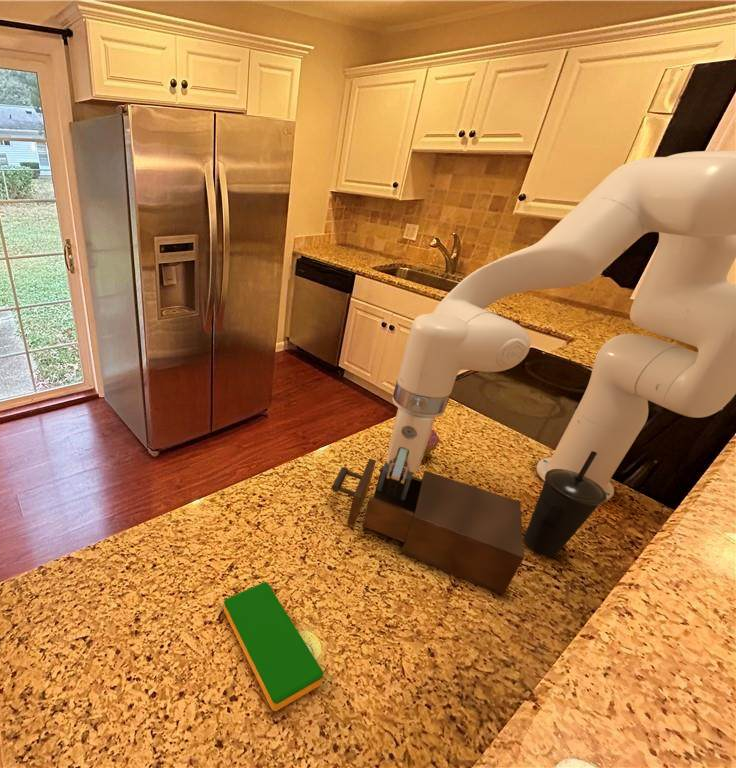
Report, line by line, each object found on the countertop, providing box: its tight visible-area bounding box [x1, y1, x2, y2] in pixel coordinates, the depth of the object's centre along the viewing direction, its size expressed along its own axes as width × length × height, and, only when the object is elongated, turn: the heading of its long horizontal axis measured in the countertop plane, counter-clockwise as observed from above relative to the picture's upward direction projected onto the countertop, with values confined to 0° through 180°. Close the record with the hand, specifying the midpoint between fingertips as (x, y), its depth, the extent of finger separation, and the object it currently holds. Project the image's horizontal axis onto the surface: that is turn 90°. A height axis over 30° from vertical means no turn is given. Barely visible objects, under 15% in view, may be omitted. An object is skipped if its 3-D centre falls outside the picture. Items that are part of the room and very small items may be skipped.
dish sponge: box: [223, 581, 324, 712], centre depth 54 cm, size 7×14×2 cm, turn 25°
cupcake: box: [423, 428, 441, 458], centre depth 89 cm, size 9×8×12 cm
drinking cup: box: [523, 451, 607, 558], centre depth 65 cm, size 8×8×20 cm
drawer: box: [331, 458, 422, 544], centre depth 73 cm, size 18×11×7 cm, turn 60°
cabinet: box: [401, 470, 525, 596], centre depth 68 cm, size 15×13×9 cm
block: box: [377, 459, 414, 500], centre depth 70 cm, size 4×4×4 cm
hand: (393, 485), depth 71 cm, fingers closed on block, 4 cm apart
